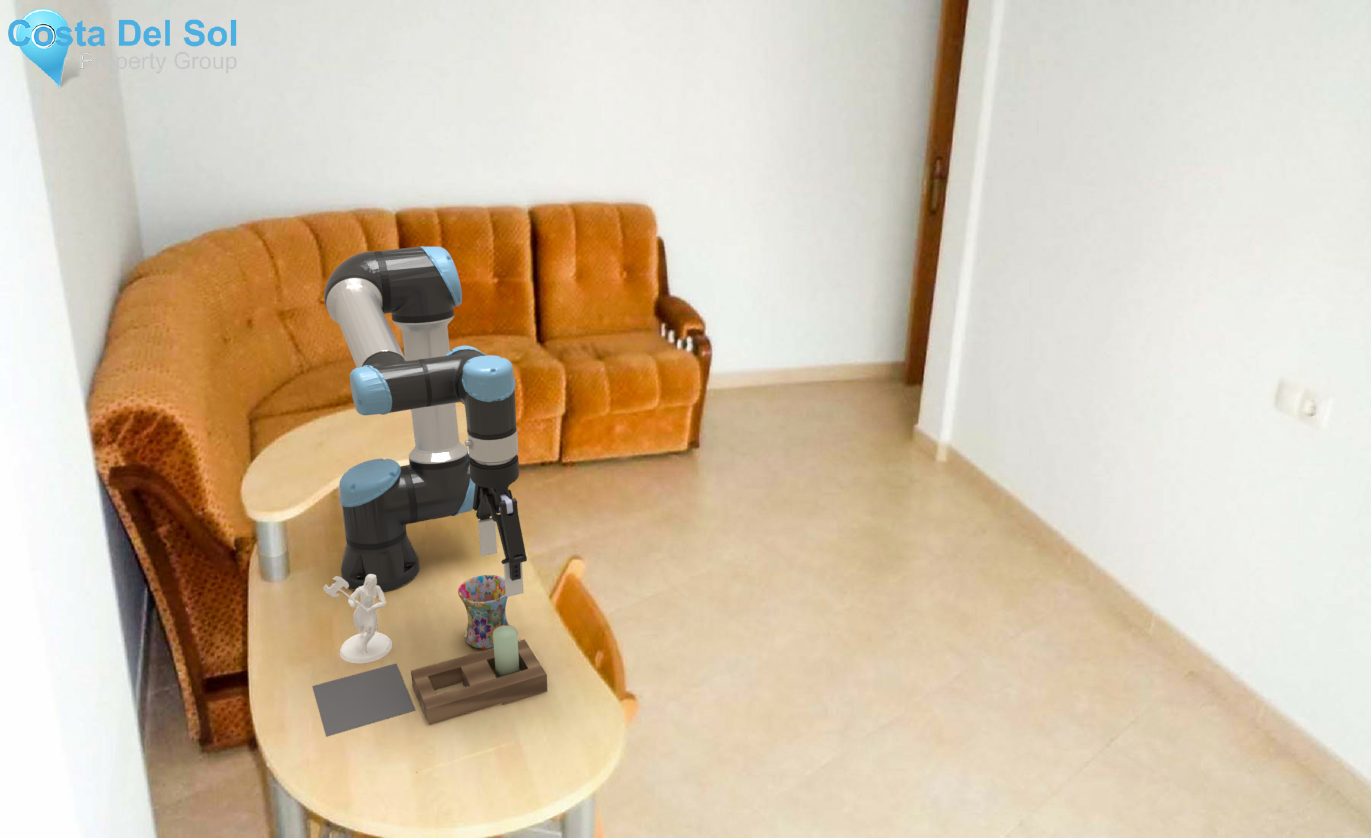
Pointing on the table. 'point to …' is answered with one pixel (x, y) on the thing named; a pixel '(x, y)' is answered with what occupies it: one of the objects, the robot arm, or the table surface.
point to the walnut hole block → (476, 683)
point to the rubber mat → (362, 699)
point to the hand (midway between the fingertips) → (501, 573)
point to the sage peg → (506, 650)
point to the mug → (483, 608)
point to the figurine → (363, 622)
